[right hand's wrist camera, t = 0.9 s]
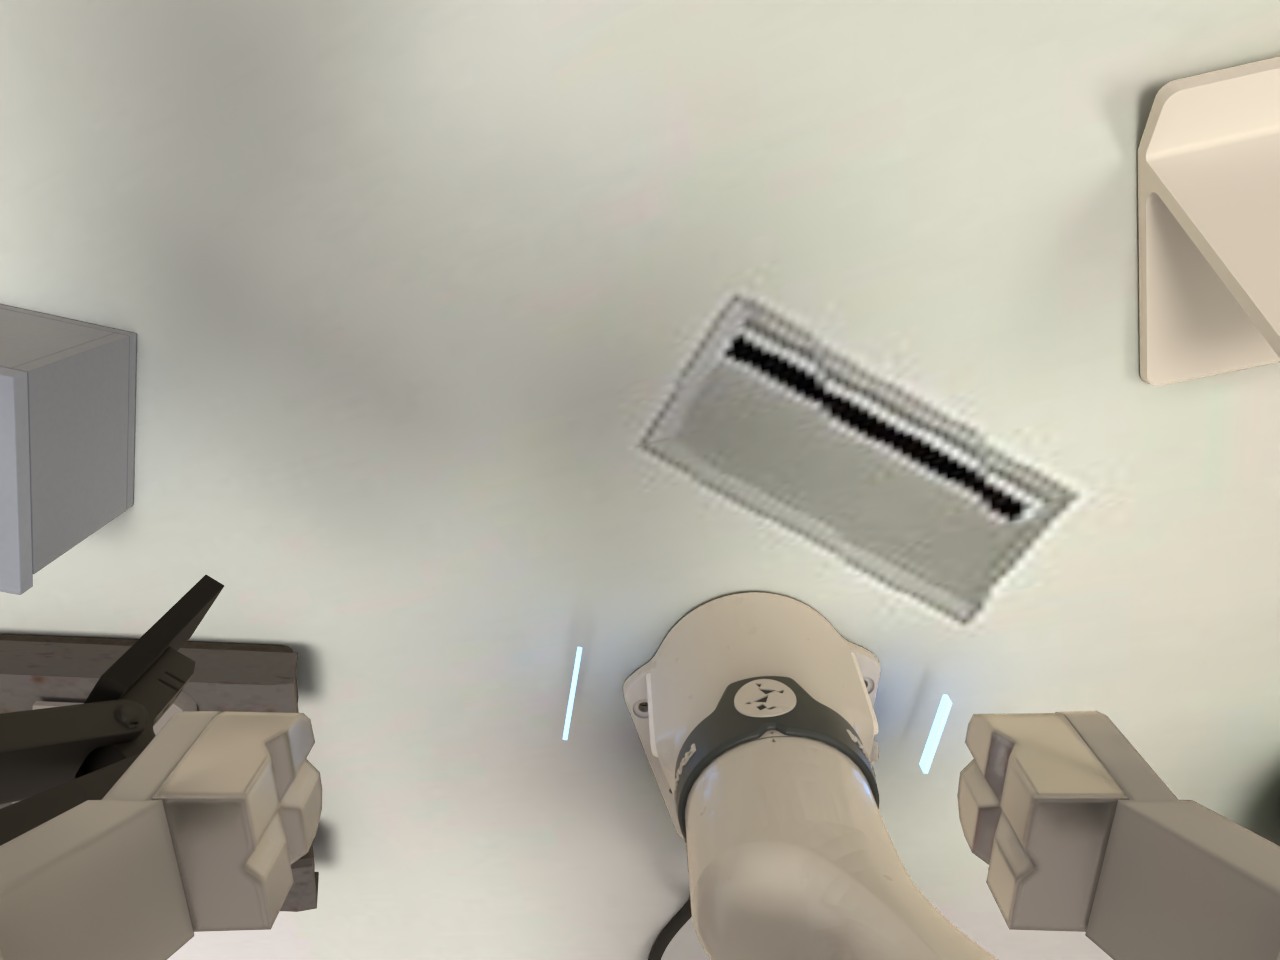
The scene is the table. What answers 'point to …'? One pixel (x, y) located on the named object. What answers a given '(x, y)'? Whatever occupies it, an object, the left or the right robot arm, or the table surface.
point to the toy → (222, 681)
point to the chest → (73, 424)
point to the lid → (14, 484)
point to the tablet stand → (1210, 225)
